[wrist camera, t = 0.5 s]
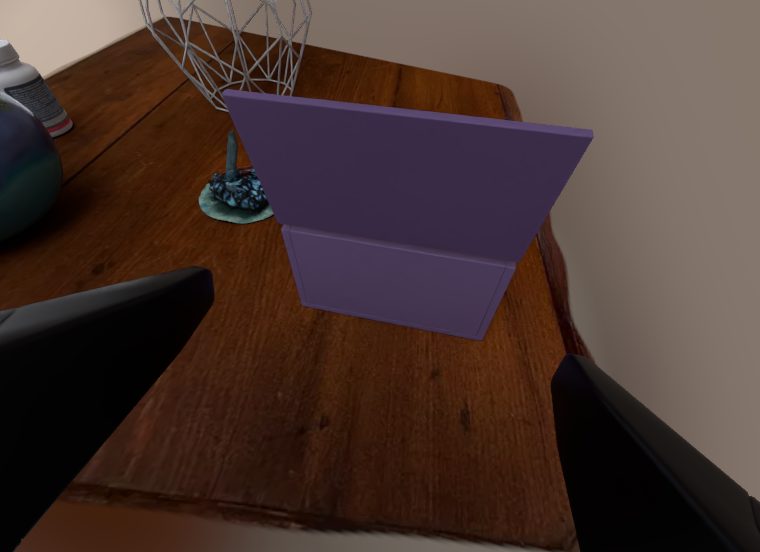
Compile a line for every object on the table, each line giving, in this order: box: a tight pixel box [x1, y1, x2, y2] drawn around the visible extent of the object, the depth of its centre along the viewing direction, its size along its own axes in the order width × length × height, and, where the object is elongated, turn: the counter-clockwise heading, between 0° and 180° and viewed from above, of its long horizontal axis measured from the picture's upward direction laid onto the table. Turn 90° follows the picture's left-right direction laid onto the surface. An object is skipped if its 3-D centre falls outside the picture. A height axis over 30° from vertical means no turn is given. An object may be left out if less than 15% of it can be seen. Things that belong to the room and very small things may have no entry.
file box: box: [281, 224, 516, 341], centre depth 26 cm, size 15×13×8 cm
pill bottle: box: [0, 40, 73, 138], centre depth 38 cm, size 5×5×9 cm
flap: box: [222, 89, 593, 263], centre depth 15 cm, size 7×13×1 cm
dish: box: [199, 130, 274, 224], centre depth 33 cm, size 8×7×8 cm
